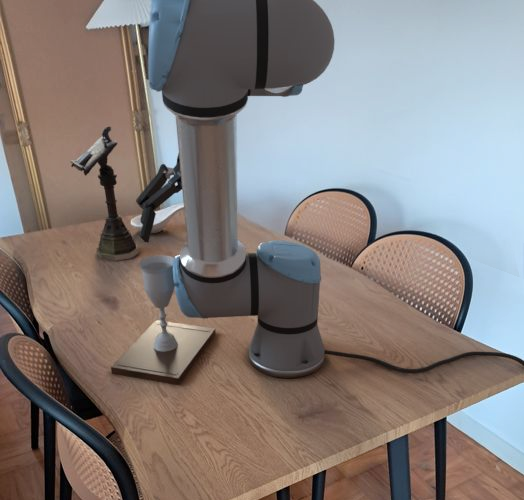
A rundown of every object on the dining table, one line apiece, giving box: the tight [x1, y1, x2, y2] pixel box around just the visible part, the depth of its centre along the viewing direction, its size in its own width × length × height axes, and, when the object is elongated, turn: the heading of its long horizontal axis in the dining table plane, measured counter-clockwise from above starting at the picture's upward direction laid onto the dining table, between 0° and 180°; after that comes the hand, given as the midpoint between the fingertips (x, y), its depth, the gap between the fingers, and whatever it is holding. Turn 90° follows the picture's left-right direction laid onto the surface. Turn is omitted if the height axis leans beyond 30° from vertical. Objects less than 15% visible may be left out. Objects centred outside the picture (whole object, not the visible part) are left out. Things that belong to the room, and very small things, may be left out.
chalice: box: [138, 254, 178, 351], centre depth 108 cm, size 7×7×18 cm
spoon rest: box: [130, 203, 184, 234], centre depth 178 cm, size 24×12×7 cm, turn 113°
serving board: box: [110, 319, 217, 386], centre depth 113 cm, size 14×20×2 cm
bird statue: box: [69, 126, 140, 262], centre depth 150 cm, size 17×13×35 cm
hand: (175, 243), depth 109 cm, fingers open, 13 cm apart
